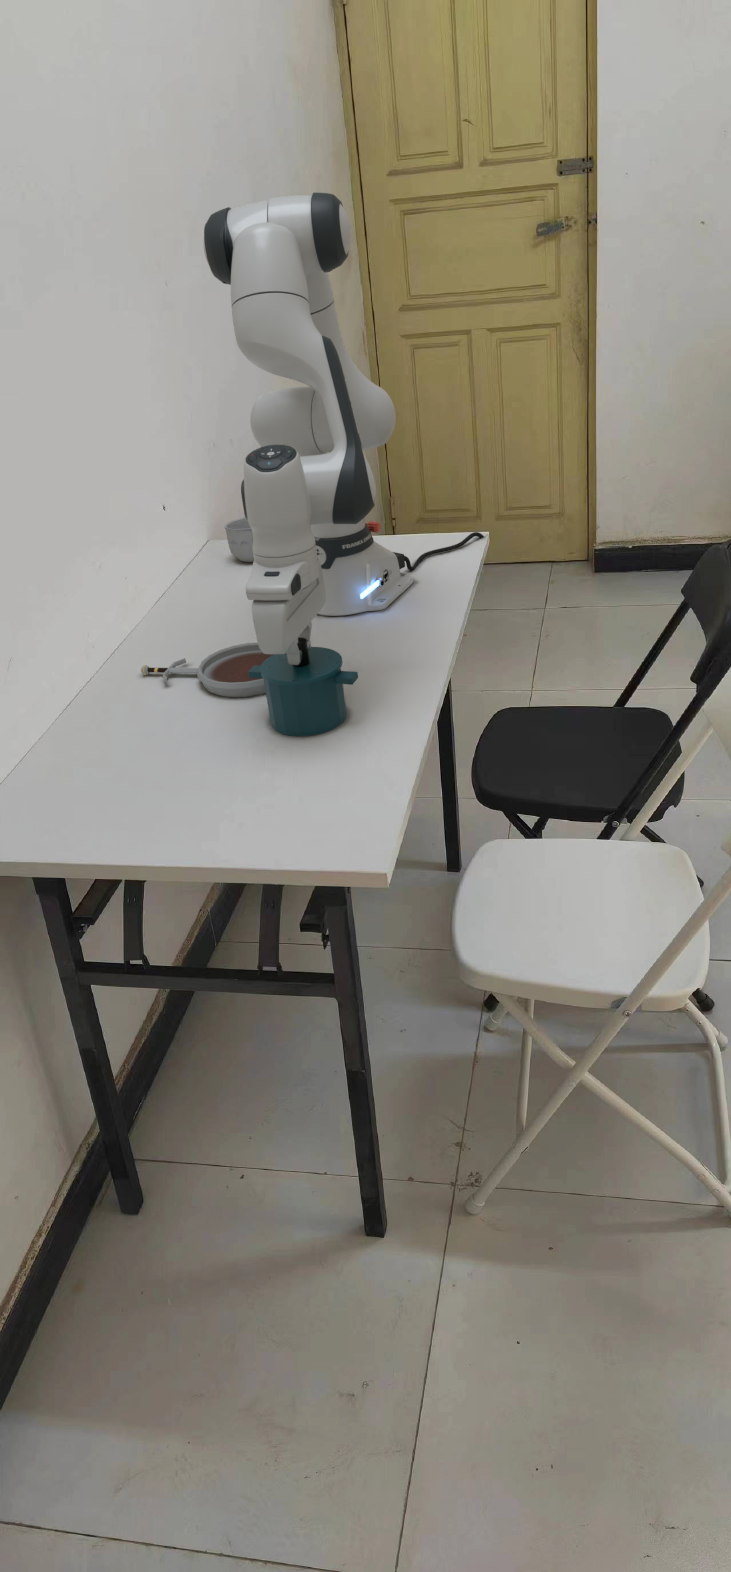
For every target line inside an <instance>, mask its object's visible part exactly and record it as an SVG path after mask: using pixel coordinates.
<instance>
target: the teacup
mask: <svg viewBox="0 0 731 1572" xmlns="http://www.w3.org/2000/svg"><path fill="white" fill-rule="evenodd" d="M224 529H225V534H226V539H227V544H228V548H229V551H230V553H231V555H232V556H234V557H235V558H237V559H238V560H239V561H241V562H244V563H253V562H254V556H253V548H252V546H253V532H252V529H251V527H250V525H249V522H248V520H247V519H246V518H245V516H244V517H240V518H236V519H233V520H231V521H229V522H227V523H225V524H224Z"/></svg>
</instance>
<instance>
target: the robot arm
mask: <svg viewBox="0 0 731 1572" xmlns="http://www.w3.org/2000/svg"><path fill="white" fill-rule="evenodd" d="M351 242H352V227H351V223H350V218H349V216H348V213H347V211H346V210H345V208H344V205H343V202H342V201H341V200H340V198H338V197H337V196H336V195H335V194H334V193H328V192H315V191H314V192H312V194H295V195H294V194H293V195H292V194H291V195H282V196H274V197H270V198H269V199H264V200H258V201H254V202H250V203H246V204H243V205H239V206H236V207H234V208H231V207H230V206H228V207H225V208H222V209H219V210H217V211H215V212H213V213H212V214H210V216H209V217H208V219H207V220H206V222H205V224H204V229H203V253H204V256H205V258H206V262H207V265H208V266H209V269H210V272H211V273H212V275H213V277H214V278H216V279H217V280H218V281H219V282H221V283H222V284H225V285H229V286H230V303H231V306H230V307H231V315H232V317H231V319H232V325H233V331H234V336H235V340H236V345H237V347H238V349H239V350H240V352H241V353H242V355H243V356H244V357H245V358H246V359H247V360H248V361H249V362H250V363H251V364H253V365H254V366H255V367H257V368H259V369H261V370H262V371H265V372H267V373H269V374H271V375H274V376H277V377H278V376H279V377H281V378H285V379H289V380H292V381H296V382H299V383H301V384H304V385H306V386H292V387H282V388H279V389H275V390H271V391H267V392H265V393H262V394H260V395H259V396H258V397H257V398H256V400H255V401H254V403H253V406H252V408H251V412H250V416H249V418H250V422H249V423H250V429H251V433H252V435H253V437H254V440H255V441H256V442H257V444H258V445H259V446H260V447H258V448H256V449H253V450H252V451H251V452H249V453H248V454H247V455H246V457H245V458H244V461H243V479H242V481H241V484H240V493H241V495H240V496H241V501H242V507H243V514H244V517H245V518H246V519H247V520H248V522H249V525H250V527H251V529H252V532H253V546H252V548H253V556H254V561H253V562H252V567H251V568H252V569H251V572H250V575H249V578H248V580H247V582H246V584H245V595H246V598H247V600H248V601H252V603H251V616H252V621H253V627H254V628H253V629H254V632H255V637H256V642H258V645H259V648H260V649H261V651H262V652H263V653H264V654H285V653H286V654H287V659H288V663H289V664H290V665H299V664H300V662H301V661H302V659H303V658H302V651H301V650H299V648H298V645H297V643H298V638H305V639H306V640H307V646H308V652H309V650H310V649H311V647H312V642H311V641H312V640H311V638H312V637H311V635H312V628H313V624H312V621H313V620H314V618H315V617H316V616H317V615H320V616H329V617H330V616H331V617H338V616H349V615H357V614H359V613H364V612H375V611H383V610H385V609H387V608H388V607H389V606H390V604H392V603H393V602H394V601H395V600H396V599H397V598H399V596H401V594H403V593H404V592H405V591H406V590H407V589H408V588H409V587H411V585H413V583H414V578H413V577H412V576H411V575H410V574H407V573H404V572H401V570H402V569H404V568H406V569H407V570H408V571H410V572H412V571H415V569H416V568H417V567H418V566H420V563H421V562H422V561H423V560H424V559H425V558H427V557H430V556H433V555H436V554H441V553H445V552H449V551H454V550H457V549H459V548H461V547H463V546H464V545H466V544H467V543H468V542H469V541H471V540H472V539H473V538H475V537H478V538H479V539H483V538H484V537H485V536H484V535H483V534H482V533H480V532H479V531H474V532H471V533H470V534H468V535H467V536H466V537H465V538H464V539H463V540H461V541H460V542H458V543H455V544H452V545H449V546H445V547H441V548H437V549H432V550H429V551H425V552H424V553H422V554H421V555H419V557H418V558H417V559H416V560H415V562H414V564H413V565H412V564H411V561H410V560H411V559H410V558H409V557H408V556H406V555H405V554H404V553H400V552H396V551H391V550H390V549H388V548H387V547H384V546H383V545H381V544H379V543H378V542H376V541H374V536H373V535H372V533H376V534H378V533H380V531H381V528H382V526H381V525H382V524H381V523H380V522H379V521H372V520H369V521H368V522H367V523H366V517H367V516H368V514H370V512H371V511H373V509H374V507H375V502H376V497H377V489H376V488H377V487H376V481H375V476H374V473H373V469H372V468H371V464H370V463H369V461H368V458H367V456H366V454H365V451H367V450H371V449H376V448H380V447H383V446H385V445H386V444H387V443H388V441H389V440H390V438H391V437H392V435H393V432H394V430H395V427H396V422H397V421H396V419H397V418H396V416H397V415H396V409H395V405H394V402H393V400H392V399H391V397H390V395H389V394H388V392H387V391H386V390H385V389H384V388H382V387H381V386H379V385H377V384H376V383H374V382H373V381H372V380H370V379H369V378H368V377H366V376H365V375H364V374H363V373H362V371H361V370H360V369H359V368H358V367H357V365H356V364H355V363H354V361H353V360H352V358H351V357H350V355H349V352H348V350H347V349H346V346H345V343H344V340H343V336H342V332H341V329H340V327H341V326H340V323H339V319H338V314H337V309H336V303H335V298H334V292H333V286H332V282H331V279H330V275H329V273H331V272H332V271H333V270H335V269H338V268H339V267H341V266H342V265H343V264H344V263H345V261H346V260H347V258H348V257H349V252H350V251H349V250H350V248H351Z"/></svg>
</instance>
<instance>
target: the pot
mask: <svg viewBox="0 0 731 1572" xmlns="http://www.w3.org/2000/svg"><path fill="white" fill-rule="evenodd" d="M260 667H261V666H260V665H255V666H254V667H252V668H251V669H250V670H249V671H248V674H249V678H262V679H264V678H263V677H262V676H261V673H260ZM358 679H359V672H358V671H352V670H342V667H341V668H340V670H339V671H338V672H336V673H335V674H334V675H332V676H330V677H328V678H326V679H323V680H320V681H317V682H313V683H308V684H301V685H281V684H275V683H271V682H269V681H267V680H265V679H264V685H265V691H266V693H265V697H266V702H267V703H266V704H267V707H268V708H267V709H268V715H269V721H270V724H271V727H272V728H273V730H274V731H276V732H278V733H279V734H282V735H284V736H291V737H310V736H316V735H321V734H325V733H327V732H330V731H332V730H334V729H336V728H338V727H339V726H340V725H342V724H343V723H344V721H345V720H346V719H347V705H346V699H345V689H344V685H350V686H352V685H354V684H355V682H356V681H357V680H358Z"/></svg>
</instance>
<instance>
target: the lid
mask: <svg viewBox="0 0 731 1572" xmlns="http://www.w3.org/2000/svg"><path fill="white" fill-rule="evenodd" d="M297 645H298V648H299V650H301V651H302V658H303V659H302V661H301V662H300V664H299V665H290V664H289V663H288V659H287V654H286V653H285V654H275V655H273V656H271V657H269V658H268V659H266V660H265V661H264V662H263V663H262V664H261V667H260V673H261V676H262V677H263V678H264V679H265V680H267V681H269V682H271V683H275V684H281V685H301V684H308V683H313V682H317V681H320V680H323V679H326V678H328V677H330V676H332V675H334V674H335V673H336V672H338V671H339V670H340V668H341V669H342V667H343V664H344V663H343V661H344V660H343V657H342V655H341V653H339V652H338V651H336V650H333V649H331V648H327V647H322V646H311V649H310V650H309V652H308V646H307V640H306V639H305V638H298V643H297Z"/></svg>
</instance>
